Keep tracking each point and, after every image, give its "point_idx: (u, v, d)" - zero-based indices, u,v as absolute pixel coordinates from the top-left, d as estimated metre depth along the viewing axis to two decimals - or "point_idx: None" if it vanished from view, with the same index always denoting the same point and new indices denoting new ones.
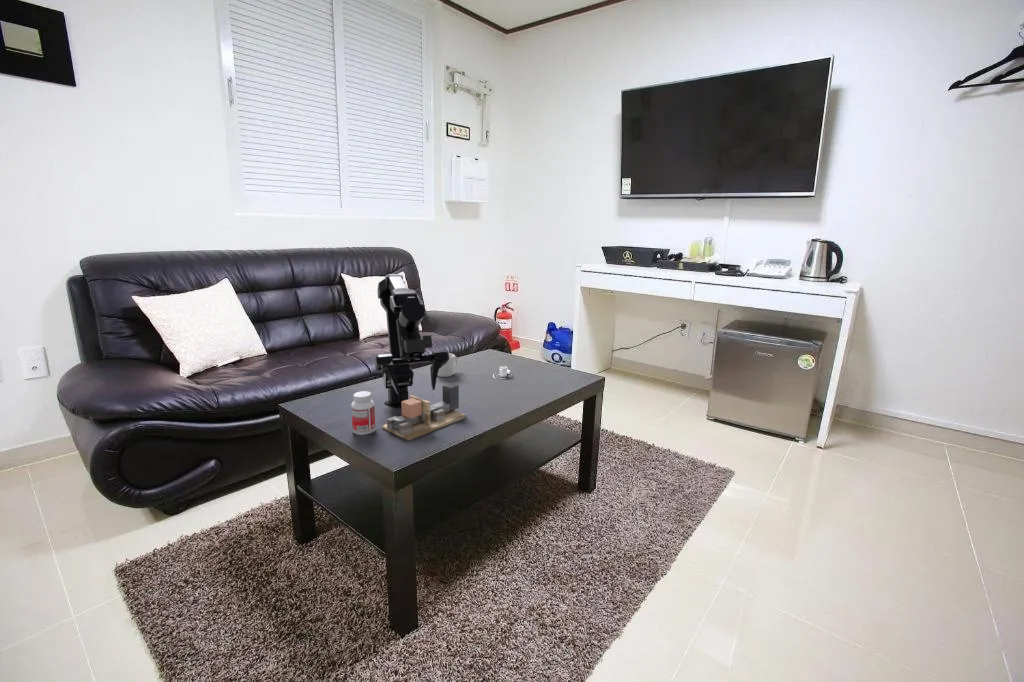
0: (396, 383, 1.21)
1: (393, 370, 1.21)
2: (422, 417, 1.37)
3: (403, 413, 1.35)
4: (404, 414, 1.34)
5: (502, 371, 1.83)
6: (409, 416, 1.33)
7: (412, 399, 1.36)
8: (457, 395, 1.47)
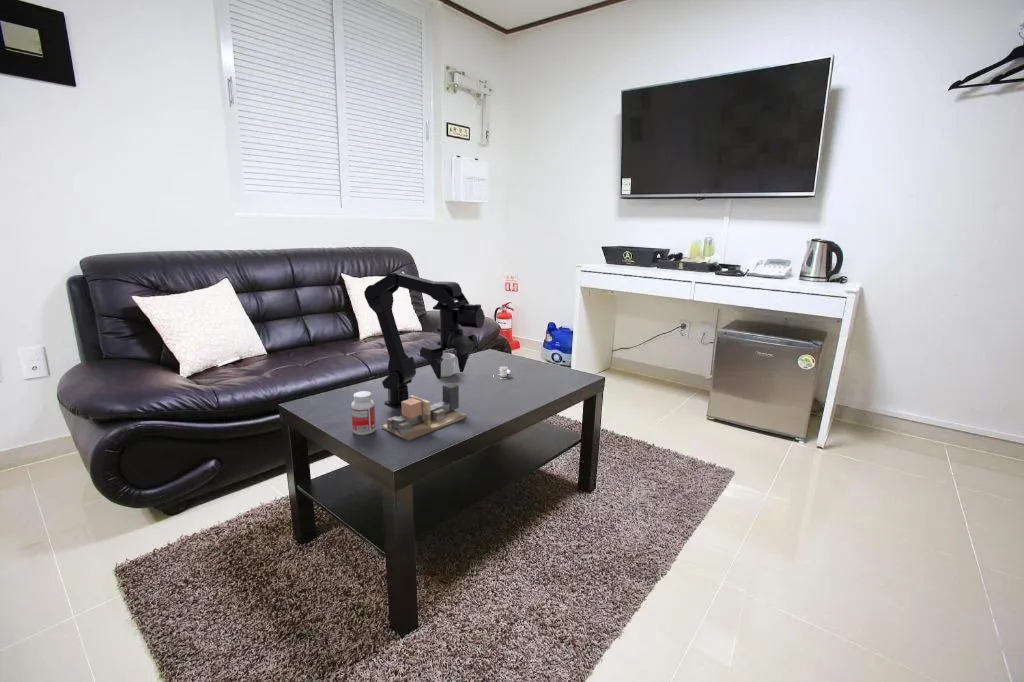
0: (440, 371, 1.40)
1: (440, 362, 1.38)
2: (422, 417, 1.37)
3: (403, 413, 1.35)
4: (404, 414, 1.34)
5: (502, 371, 1.83)
6: (409, 416, 1.33)
7: (412, 399, 1.36)
8: (457, 395, 1.47)
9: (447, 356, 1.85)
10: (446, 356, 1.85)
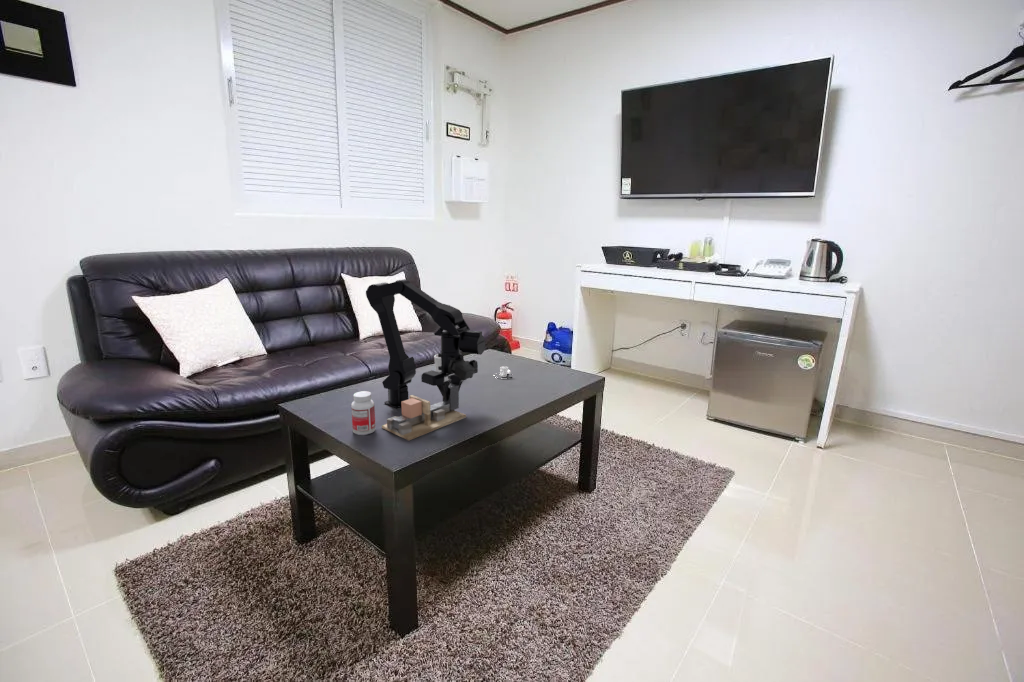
0: (447, 394, 1.44)
1: (448, 385, 1.42)
2: (422, 417, 1.37)
3: (403, 413, 1.35)
4: (404, 414, 1.34)
5: (502, 371, 1.83)
6: (409, 416, 1.33)
7: (412, 399, 1.36)
8: (457, 395, 1.47)
9: None
10: None
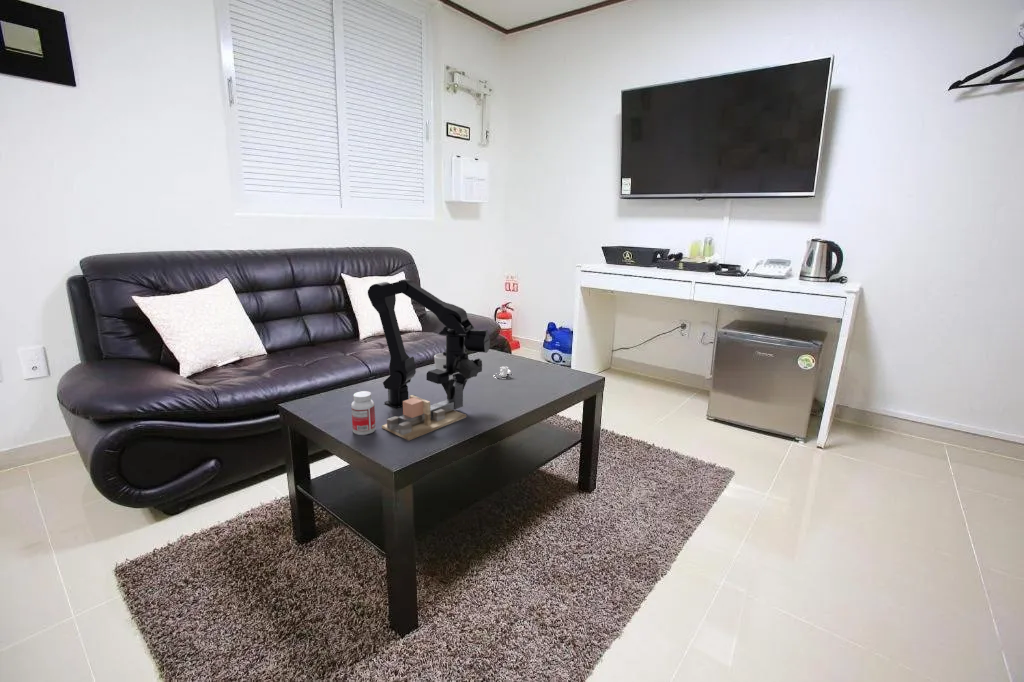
0: (452, 392, 1.46)
1: (452, 383, 1.44)
2: None
3: (404, 413, 1.35)
4: (406, 413, 1.35)
5: (503, 371, 1.83)
6: (410, 415, 1.33)
7: (413, 398, 1.37)
8: (462, 394, 1.48)
9: None
10: None
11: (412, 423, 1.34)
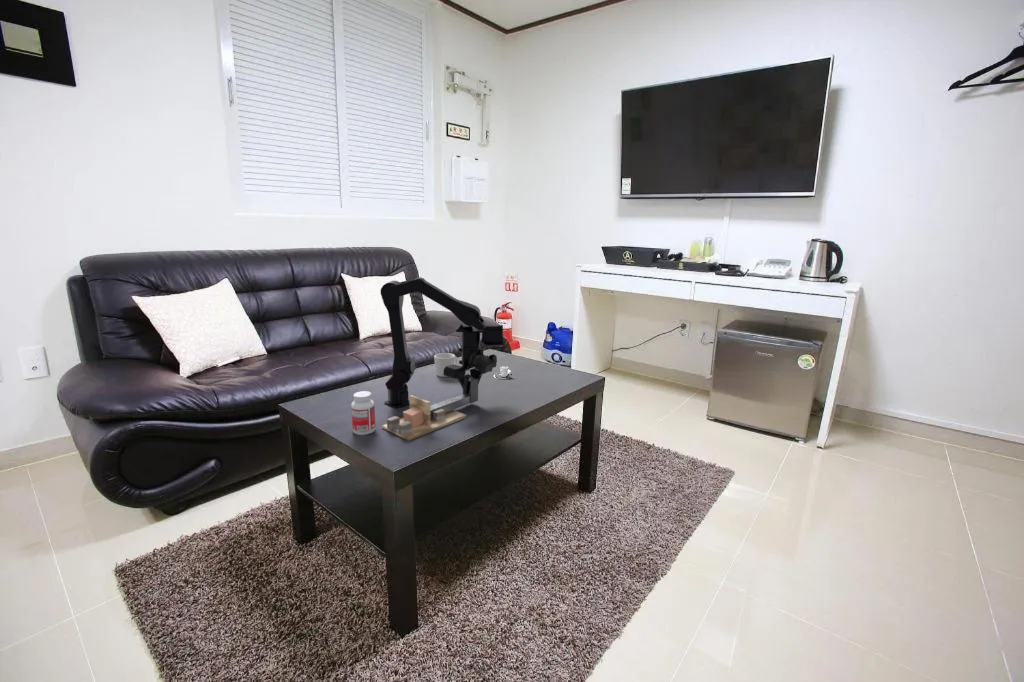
0: (467, 387, 1.51)
1: (468, 378, 1.49)
2: (444, 408, 1.43)
3: None
4: None
5: (503, 371, 1.83)
6: (412, 426, 1.34)
7: (413, 408, 1.37)
8: (477, 388, 1.53)
9: (447, 356, 1.85)
10: (446, 356, 1.85)
11: (431, 416, 1.40)
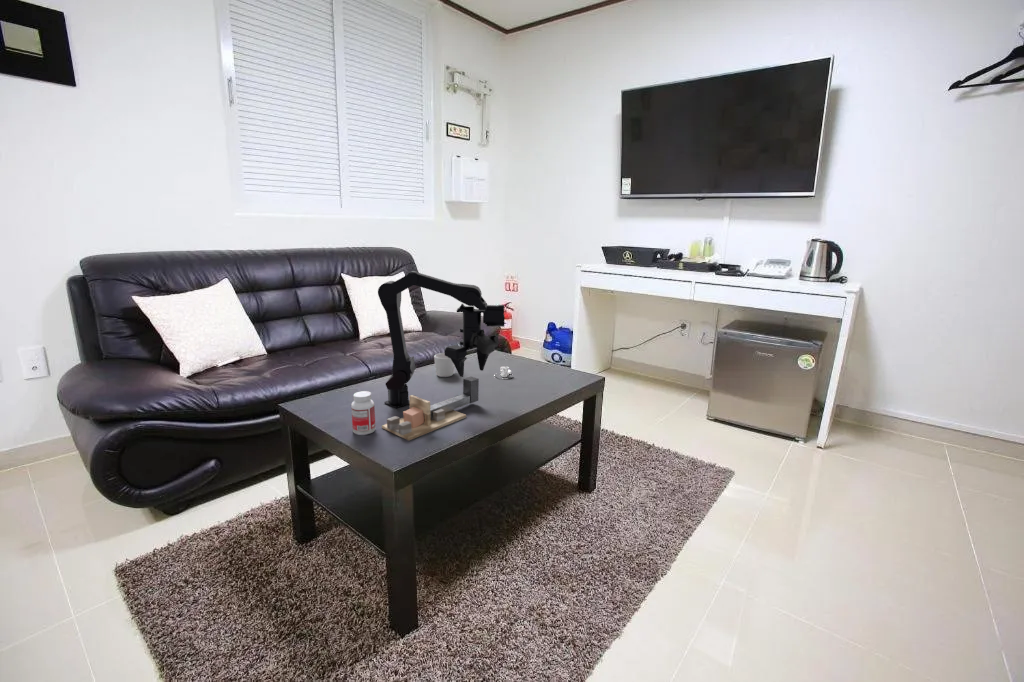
0: (463, 370, 1.47)
1: None
2: (444, 408, 1.44)
3: None
4: None
5: (503, 371, 1.83)
6: (412, 426, 1.34)
7: (413, 408, 1.37)
8: (477, 388, 1.53)
9: (447, 356, 1.85)
10: (446, 356, 1.85)
11: (431, 416, 1.40)
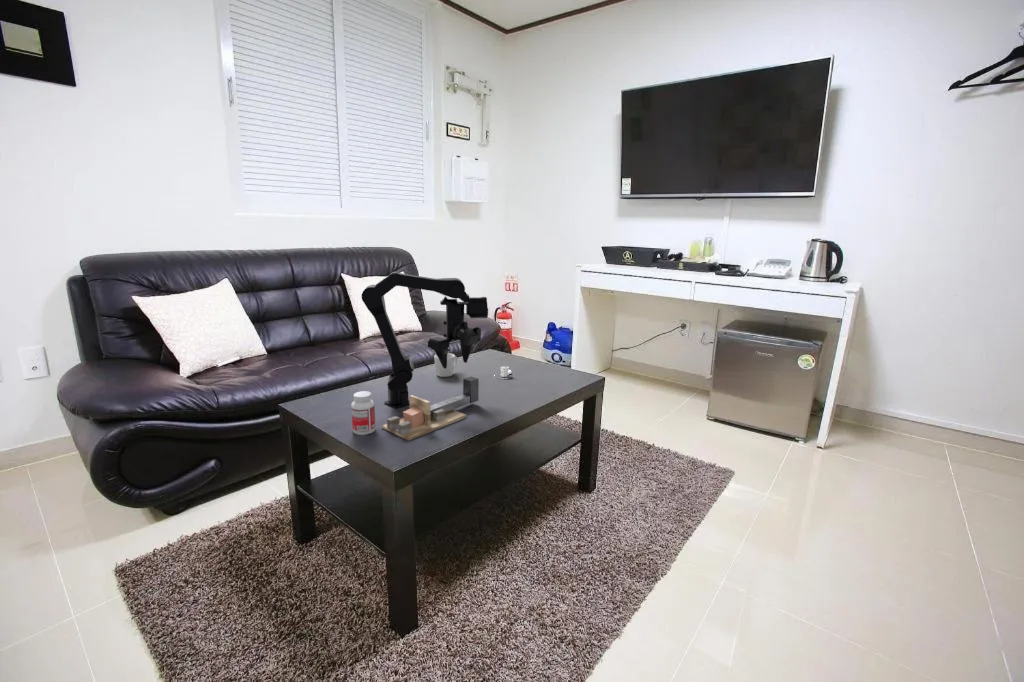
0: (446, 361, 1.50)
1: (447, 352, 1.48)
2: (444, 408, 1.44)
3: None
4: None
5: (503, 371, 1.83)
6: (412, 426, 1.34)
7: (413, 408, 1.37)
8: (477, 388, 1.53)
9: (447, 356, 1.85)
10: None
11: (431, 416, 1.40)
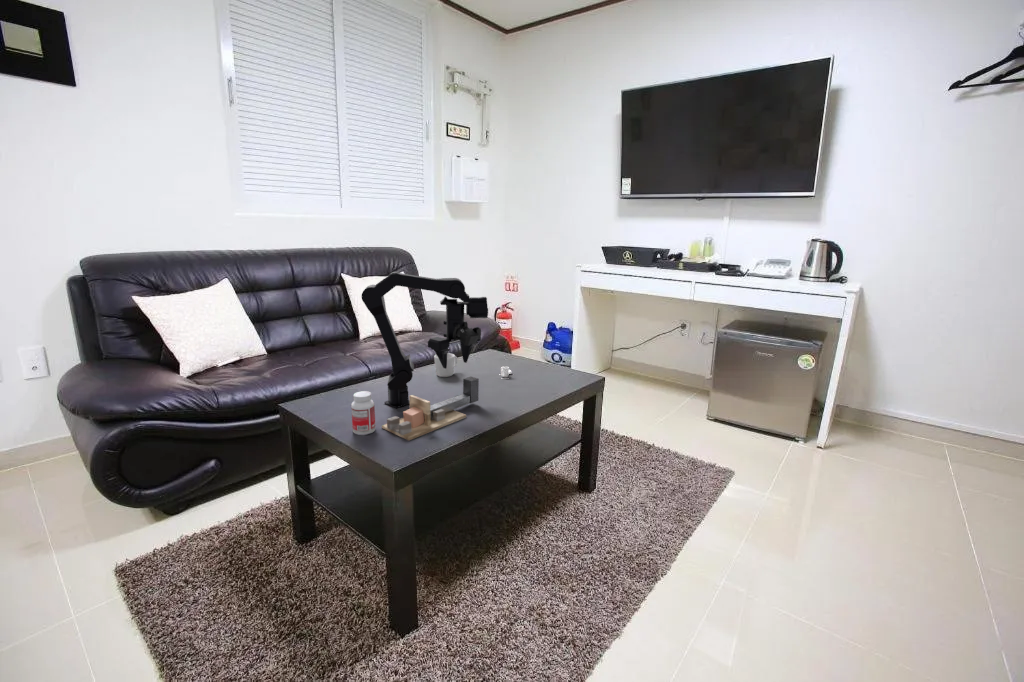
0: (446, 361, 1.50)
1: (447, 352, 1.48)
2: (444, 408, 1.44)
3: None
4: None
5: (503, 371, 1.83)
6: (412, 426, 1.34)
7: (413, 408, 1.37)
8: (477, 388, 1.53)
9: (447, 356, 1.85)
10: None
11: (431, 416, 1.40)
